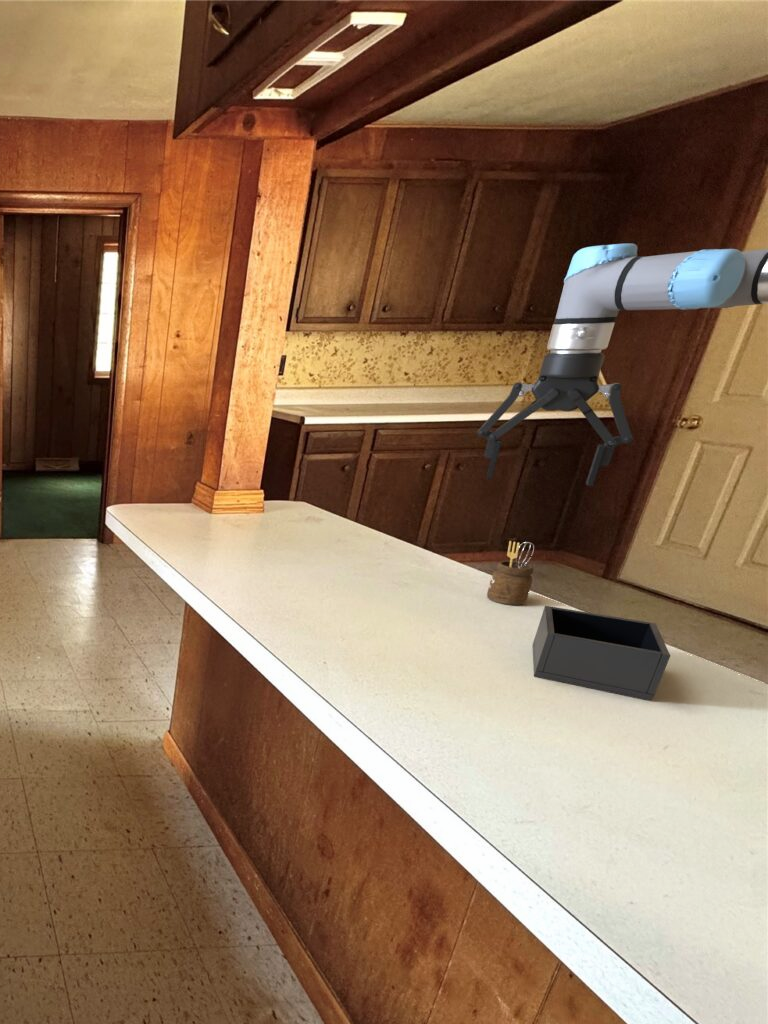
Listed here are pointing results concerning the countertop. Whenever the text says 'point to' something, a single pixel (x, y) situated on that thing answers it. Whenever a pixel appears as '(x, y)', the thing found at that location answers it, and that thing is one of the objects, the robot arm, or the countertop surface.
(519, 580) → the utensil holder
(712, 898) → the countertop surface
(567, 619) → the dark grey open box
